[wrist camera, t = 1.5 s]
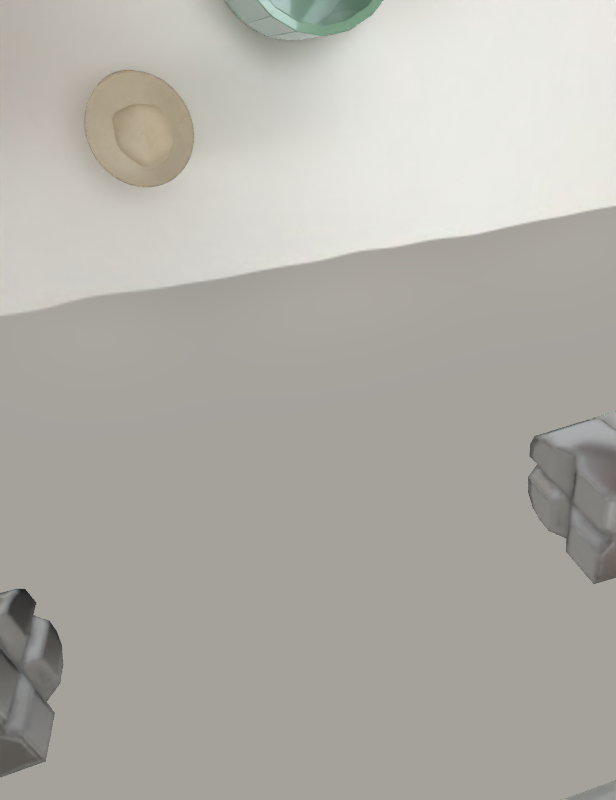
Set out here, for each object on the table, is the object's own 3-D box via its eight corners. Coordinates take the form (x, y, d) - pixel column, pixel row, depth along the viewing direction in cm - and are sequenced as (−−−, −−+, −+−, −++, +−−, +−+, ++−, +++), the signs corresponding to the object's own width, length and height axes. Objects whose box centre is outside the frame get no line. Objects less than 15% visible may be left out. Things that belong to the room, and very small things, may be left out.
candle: (72, 124, 34) (61, 141, 26) (120, 48, 33) (124, 42, 25) (146, 182, 37) (157, 214, 29) (193, 114, 36) (218, 128, 28)
